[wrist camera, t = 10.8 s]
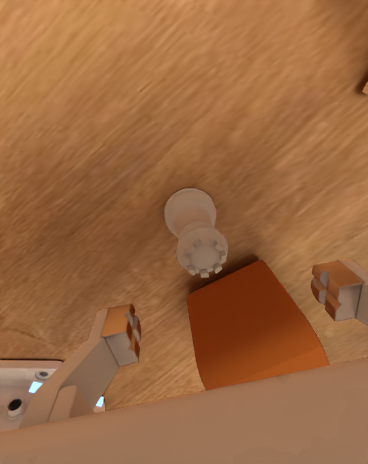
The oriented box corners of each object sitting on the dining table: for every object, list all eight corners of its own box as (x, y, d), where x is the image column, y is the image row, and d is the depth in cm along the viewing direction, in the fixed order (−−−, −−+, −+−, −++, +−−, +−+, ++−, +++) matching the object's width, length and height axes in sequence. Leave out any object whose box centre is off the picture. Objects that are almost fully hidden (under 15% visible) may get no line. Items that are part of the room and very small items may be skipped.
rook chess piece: (167, 182, 20) (172, 220, 13) (219, 189, 21) (252, 229, 13) (160, 231, 22) (162, 288, 14) (208, 236, 22) (232, 293, 15)
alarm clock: (314, 376, 34) (381, 488, 24) (259, 398, 35) (302, 514, 25) (257, 250, 24) (333, 352, 13) (183, 287, 25) (201, 407, 14)
